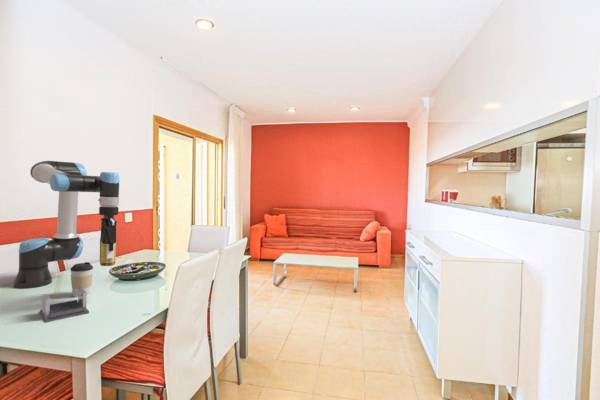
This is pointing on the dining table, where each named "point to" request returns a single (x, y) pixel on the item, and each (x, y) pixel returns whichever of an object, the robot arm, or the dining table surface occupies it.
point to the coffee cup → (81, 277)
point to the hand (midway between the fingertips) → (107, 256)
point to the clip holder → (64, 307)
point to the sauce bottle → (103, 249)
